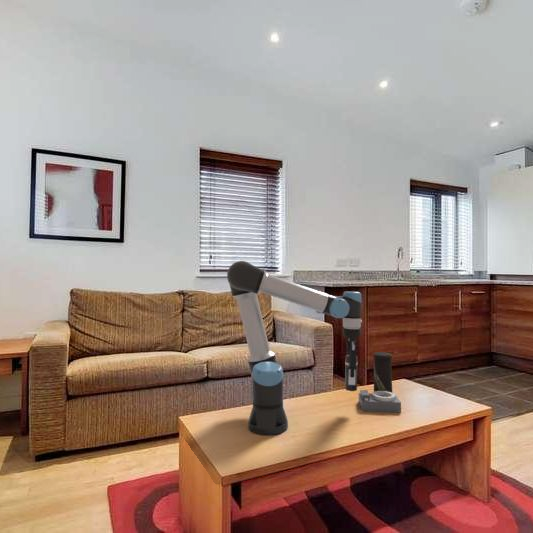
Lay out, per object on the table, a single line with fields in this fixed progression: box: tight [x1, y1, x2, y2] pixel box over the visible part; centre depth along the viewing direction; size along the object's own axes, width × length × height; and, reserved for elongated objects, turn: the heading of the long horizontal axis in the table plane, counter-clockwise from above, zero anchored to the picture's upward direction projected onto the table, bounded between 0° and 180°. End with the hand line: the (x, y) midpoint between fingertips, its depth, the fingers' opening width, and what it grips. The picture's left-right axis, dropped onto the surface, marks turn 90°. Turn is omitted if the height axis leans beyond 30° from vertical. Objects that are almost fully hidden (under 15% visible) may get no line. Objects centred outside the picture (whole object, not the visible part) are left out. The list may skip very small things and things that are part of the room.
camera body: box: [358, 389, 402, 413], centre depth 164 cm, size 16×11×6 cm
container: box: [372, 351, 393, 393], centre depth 180 cm, size 9×9×20 cm
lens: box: [344, 354, 359, 392], centre depth 159 cm, size 5×5×14 cm
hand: (351, 382), depth 159 cm, fingers closed on lens, 5 cm apart
